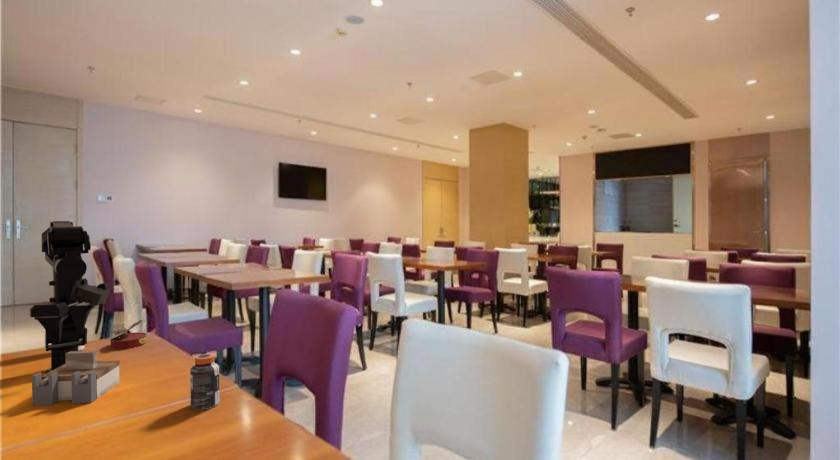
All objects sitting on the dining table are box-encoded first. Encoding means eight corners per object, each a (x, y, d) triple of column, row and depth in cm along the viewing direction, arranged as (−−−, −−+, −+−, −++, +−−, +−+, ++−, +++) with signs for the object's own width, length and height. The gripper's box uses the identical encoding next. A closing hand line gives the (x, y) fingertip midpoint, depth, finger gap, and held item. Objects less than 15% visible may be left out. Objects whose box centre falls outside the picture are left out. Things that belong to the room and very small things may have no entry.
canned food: (127, 363, 141) (111, 340, 136) (111, 355, 146) (95, 332, 141) (159, 340, 149) (146, 317, 144) (143, 333, 154) (130, 311, 149)
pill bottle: (225, 401, 102) (225, 353, 101) (205, 412, 96) (204, 361, 96) (205, 397, 104) (204, 350, 103) (184, 408, 98) (183, 358, 98)
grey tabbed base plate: (67, 367, 111) (67, 347, 110) (119, 365, 112) (119, 345, 112) (31, 386, 98) (31, 363, 98) (90, 383, 100) (90, 361, 100)
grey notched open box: (67, 385, 111) (67, 358, 110) (119, 382, 113) (119, 356, 112) (32, 406, 99) (31, 376, 98) (91, 402, 100) (90, 373, 100)
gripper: (80, 281, 103) (82, 347, 103) (122, 270, 121) (122, 326, 122) (27, 281, 101) (28, 348, 102) (77, 271, 119) (78, 328, 120)
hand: (69, 337), depth 111 cm, fingers open, 9 cm apart
